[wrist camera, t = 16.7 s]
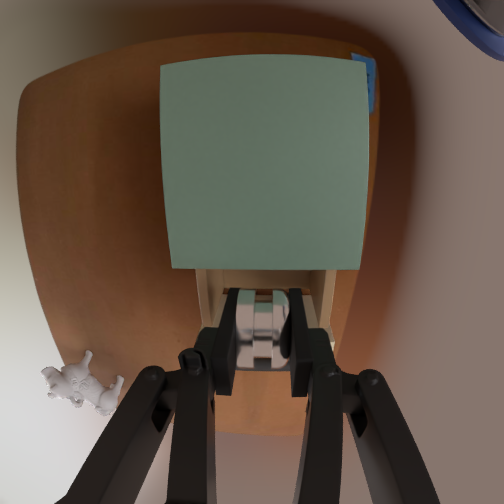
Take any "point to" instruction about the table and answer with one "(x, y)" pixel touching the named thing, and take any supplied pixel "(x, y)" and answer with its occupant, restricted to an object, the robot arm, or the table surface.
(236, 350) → the metal grooved wheel
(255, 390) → the table surface
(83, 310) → the table surface
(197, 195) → the cabinet
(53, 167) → the table surface
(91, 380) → the dog figurine
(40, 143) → the table surface
